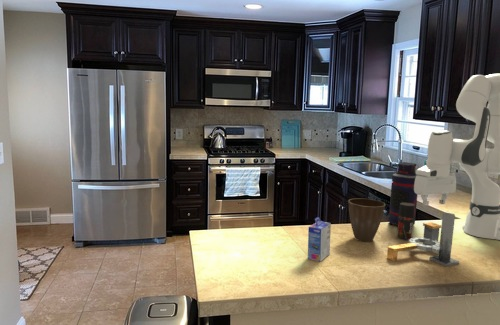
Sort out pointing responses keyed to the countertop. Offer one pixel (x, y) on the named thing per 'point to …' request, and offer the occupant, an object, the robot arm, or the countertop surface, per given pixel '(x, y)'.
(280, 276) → the countertop surface
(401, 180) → the thermos bottle
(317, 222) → the ink cartridge box
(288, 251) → the countertop surface
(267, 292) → the countertop surface
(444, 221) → the post
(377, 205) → the plant pot
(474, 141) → the robot arm
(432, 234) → the grey lidded jar
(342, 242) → the countertop surface
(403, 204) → the deodorant
